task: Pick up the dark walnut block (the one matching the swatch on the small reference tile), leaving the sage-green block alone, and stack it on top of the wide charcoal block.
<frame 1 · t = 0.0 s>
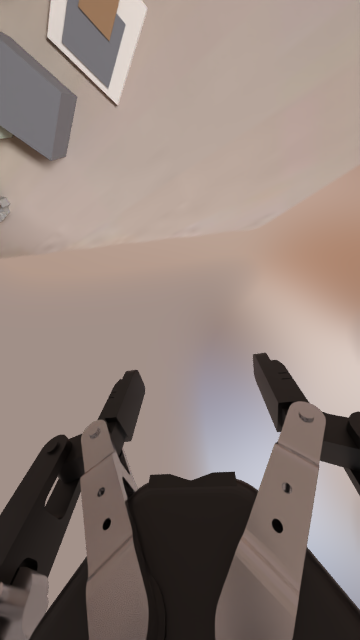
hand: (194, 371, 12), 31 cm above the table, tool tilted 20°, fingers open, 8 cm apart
charcoal block: (42, 106, 23), on the table
reference tile: (97, 24, 19), on the table
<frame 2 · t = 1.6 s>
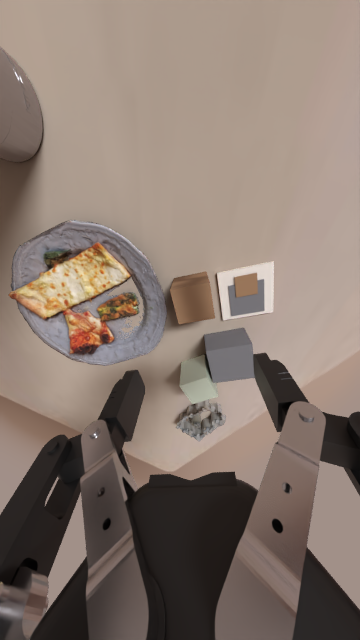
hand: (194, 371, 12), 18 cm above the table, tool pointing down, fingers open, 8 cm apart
food plate: (96, 302, 31), on the table
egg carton: (200, 410, 42), on the table
walnut block: (193, 290, 28), on the table
sage block: (198, 367, 36), on the table
charcoal block: (226, 346, 33), on the table
reference tile: (245, 292, 28), on the table
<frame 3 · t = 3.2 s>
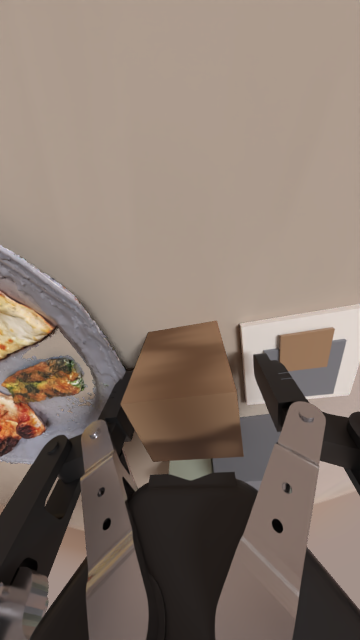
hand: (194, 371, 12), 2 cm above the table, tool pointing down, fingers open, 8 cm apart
food plate: (3, 369, 16), on the table, touching gripper
walnut block: (188, 353, 14), on the table
sage block: (198, 459, 21), on the table
charcoal block: (247, 435, 19), on the table
reference tile: (296, 359, 13), on the table
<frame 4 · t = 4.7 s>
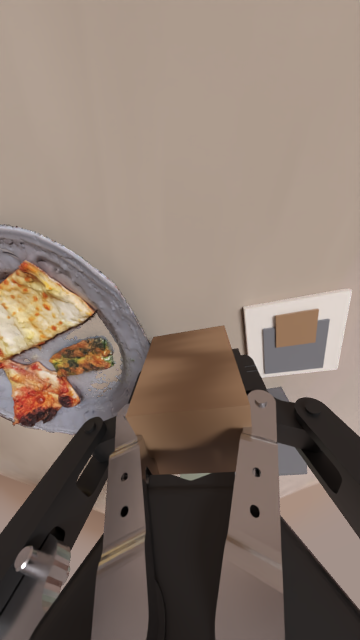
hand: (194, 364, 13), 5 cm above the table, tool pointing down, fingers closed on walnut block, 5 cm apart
food plate: (49, 348, 20), on the table
walnut block: (194, 359, 13), point 4 cm above the table, touching gripper
charcoal block: (252, 410, 21), on the table
reference tile: (291, 338, 16), on the table
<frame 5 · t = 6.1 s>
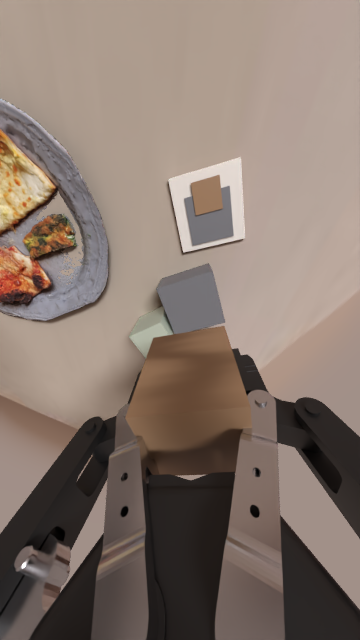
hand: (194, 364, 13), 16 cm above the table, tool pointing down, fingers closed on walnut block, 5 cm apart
food plate: (23, 235, 25), on the table
walnut block: (194, 359, 13), point 15 cm above the table, touching gripper
sage block: (160, 322, 29), on the table
charcoal block: (191, 293, 27), on the table
reference tile: (208, 210, 22), on the table
when the fingers open (6 cm above the table, at t = 8.2 s): walnut block drops 1 cm, resting on charcoal block.
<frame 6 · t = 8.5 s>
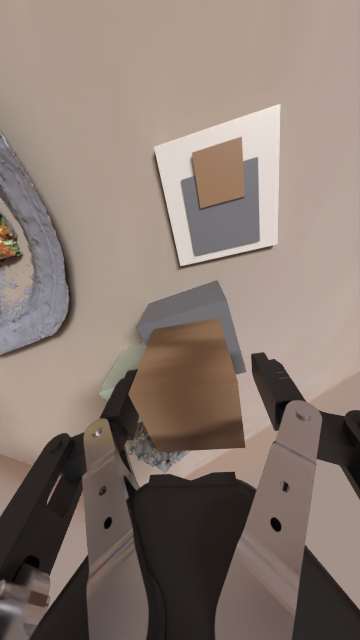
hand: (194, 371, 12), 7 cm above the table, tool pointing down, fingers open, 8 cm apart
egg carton: (165, 425, 28), on the table
walnut block: (191, 350, 14), point 5 cm above the table, touching charcoal block
sage block: (150, 359, 21), on the table
charcoal block: (193, 321, 19), on the table, touching walnut block
reference tile: (220, 200, 13), on the table
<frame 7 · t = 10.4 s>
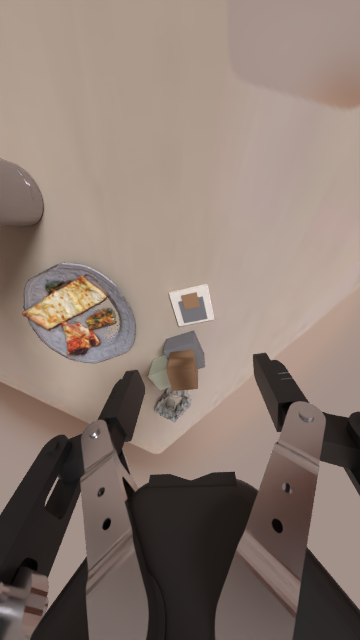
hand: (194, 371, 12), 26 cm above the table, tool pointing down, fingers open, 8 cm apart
food plate: (84, 316, 42), on the table
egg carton: (173, 397, 52), on the table
walnut block: (184, 359, 39), point 5 cm above the table, touching charcoal block
sage block: (166, 362, 46), on the table
charcoal block: (185, 345, 43), on the table, touching walnut block
reference tile: (192, 305, 38), on the table
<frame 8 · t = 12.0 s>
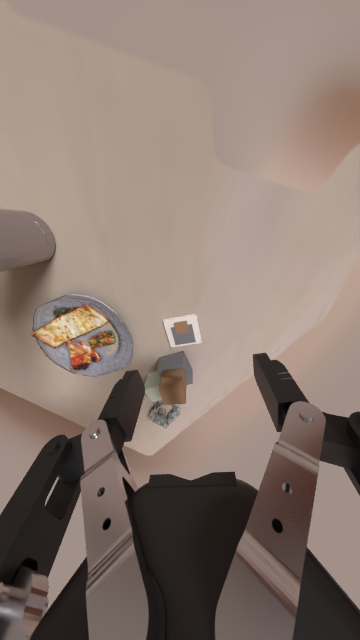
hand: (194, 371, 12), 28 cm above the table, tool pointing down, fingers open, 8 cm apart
food plate: (87, 336, 47), on the table
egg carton: (165, 406, 58), on the table
walnut block: (174, 376, 44), point 5 cm above the table, touching charcoal block
sage block: (159, 376, 51), on the table
charcoal block: (176, 363, 49), on the table, touching walnut block
reference tile: (182, 330, 44), on the table
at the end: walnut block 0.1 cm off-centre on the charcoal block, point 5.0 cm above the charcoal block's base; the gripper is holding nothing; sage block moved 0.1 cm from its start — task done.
